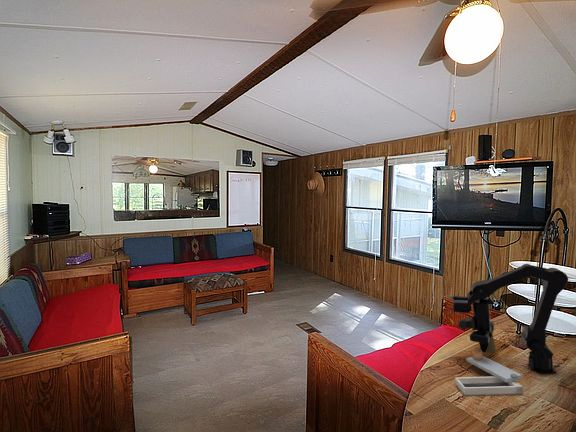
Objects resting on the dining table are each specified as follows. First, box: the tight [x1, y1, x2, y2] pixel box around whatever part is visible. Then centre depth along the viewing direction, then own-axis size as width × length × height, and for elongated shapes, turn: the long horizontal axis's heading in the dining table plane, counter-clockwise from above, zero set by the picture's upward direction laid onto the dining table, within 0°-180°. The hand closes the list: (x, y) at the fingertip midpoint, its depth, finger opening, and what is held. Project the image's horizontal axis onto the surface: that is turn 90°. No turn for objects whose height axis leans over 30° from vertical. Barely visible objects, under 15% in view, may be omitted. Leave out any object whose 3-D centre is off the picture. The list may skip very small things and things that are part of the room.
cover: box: [465, 348, 523, 383], centre depth 118 cm, size 18×7×4 cm, turn 16°
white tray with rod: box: [454, 375, 524, 397], centre depth 111 cm, size 19×7×2 cm, turn 86°
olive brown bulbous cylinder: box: [479, 328, 497, 354], centre depth 140 cm, size 6×6×11 cm
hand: (483, 351), depth 129 cm, fingers closed
